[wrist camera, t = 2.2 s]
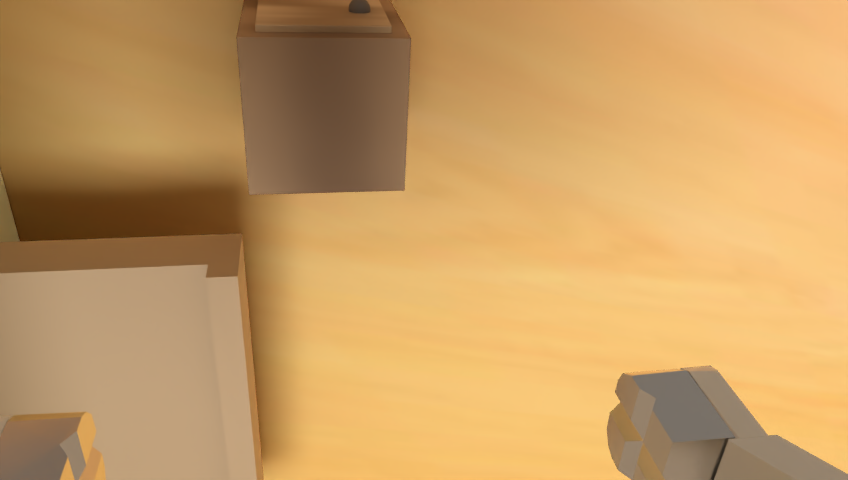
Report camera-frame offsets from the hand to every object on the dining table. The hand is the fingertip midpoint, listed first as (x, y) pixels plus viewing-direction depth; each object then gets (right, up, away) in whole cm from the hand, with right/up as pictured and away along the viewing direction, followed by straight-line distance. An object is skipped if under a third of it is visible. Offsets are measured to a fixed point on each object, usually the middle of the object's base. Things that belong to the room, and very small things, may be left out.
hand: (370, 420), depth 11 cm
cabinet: (-3, +10, +16) cm, 19 cm away
